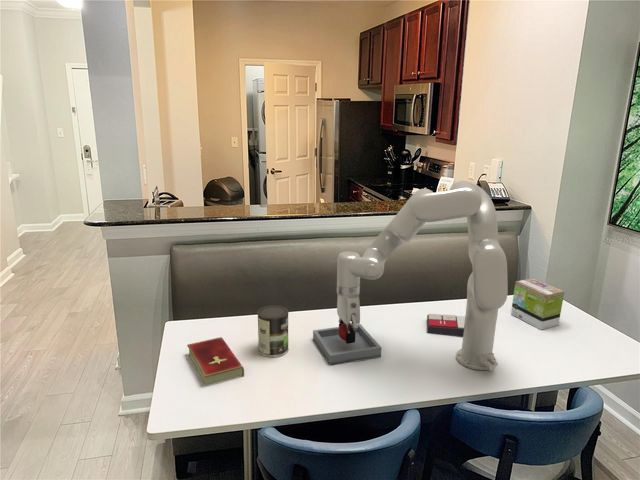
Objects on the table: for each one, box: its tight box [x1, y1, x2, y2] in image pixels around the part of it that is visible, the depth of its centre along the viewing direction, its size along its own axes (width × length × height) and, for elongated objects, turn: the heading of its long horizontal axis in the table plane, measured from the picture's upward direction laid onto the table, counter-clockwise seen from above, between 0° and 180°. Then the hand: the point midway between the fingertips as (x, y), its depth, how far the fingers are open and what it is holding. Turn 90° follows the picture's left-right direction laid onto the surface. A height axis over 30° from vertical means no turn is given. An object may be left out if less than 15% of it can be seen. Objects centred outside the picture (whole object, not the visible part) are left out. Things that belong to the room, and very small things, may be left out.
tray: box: [312, 323, 382, 366], centre depth 159 cm, size 18×18×4 cm
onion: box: [338, 322, 352, 341], centre depth 158 cm, size 6×6×8 cm
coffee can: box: [256, 305, 290, 358], centre depth 156 cm, size 10×10×14 cm
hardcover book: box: [186, 336, 245, 386], centre depth 148 cm, size 12×21×4 cm, turn 29°
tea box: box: [510, 277, 565, 331], centre depth 181 cm, size 15×10×15 cm, turn 25°
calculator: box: [426, 313, 465, 338], centre depth 174 cm, size 11×4×15 cm
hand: (346, 337), depth 159 cm, fingers closed on onion, 5 cm apart
